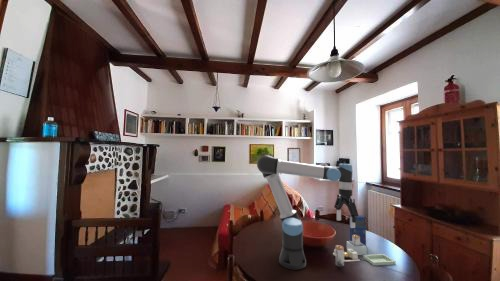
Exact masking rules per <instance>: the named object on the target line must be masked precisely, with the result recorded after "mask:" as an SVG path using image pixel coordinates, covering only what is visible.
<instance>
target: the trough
mask: <svg viewBox="0 0 500 281" xmlns="http://www.w3.org/2000/svg"><path fill="white" fill-rule="evenodd" d="M362 257H363V259H364V260H365V261H367V262H368V263H369V264H371V265H372V266H391V265H396V262H397V261H395V259H392V258H391V257H389V256H387V255H386V254H384V253H382V254H381V253H380V254H367V255H362Z"/></svg>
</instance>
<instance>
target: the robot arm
mask: <svg viewBox="0 0 500 281" xmlns="http://www.w3.org/2000/svg"><path fill="white" fill-rule="evenodd" d="M256 167H257V169H258V171H259V172H260V173H261V174H262V176H263V178H264V179H265V180H266V181H267V182H268V183H267V184H268V186H269V189H270V191H271V193H272V195H273V198H274V201H275V202H276V206H277V207H278V208H277V209H278V211H279V214H280V215H279V220H280V223H281V229H282V230H281V233H282V237H281V238H282V239H281V240H282V242H281V244H282V246H281V251H280V254H279V257H278V262H279V264H280V266H282V267H284V268H285V269H288V270H295V271H296V270H299V271H300V270H302V269H304V268H305V267H306V266H307V259H306V255H305V253H304V247H303V246H304V242H303V241H304V235H303V234H304V225H303V222H302V220H301V218H300V217H299V215H298V212H297V210H295V209H294V208H293V206H292V204H291V201H290V199H289V196H288V194H287V192H286V189H285V186H284V184H283V182H282V180H281V176H280V174H285V175H293V176H298V177H306V178H312V179H320V180H325V181H326V180H327V181H330V182H336V181H338V194H336V195H337V196H336V200H335V203H334V205H333V206H334V208H335V210H336V221H342V209H341V208H343V206H344V205H345V206H346V207H347V209H348V212H349V214H350V215H351V216H350V222H349V229H350V228H355V222H356V217H357V216H359V212H358V209H357V206H356V200H355V198H351V197H352V196H353V166H352V164H351V163H339V164H338V166H332V165H319V164H312V163H311V164H310V163H303V162H302V163H301V162H295V161H289V160H288V161H287V160H281V159H280V158H279V157H278V158H276V157H274V156H273V155H271V154H267V155H266V154H265V155H261V156H260V157H259V158H258V160H257V162H256Z"/></svg>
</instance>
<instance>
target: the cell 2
mask: <svg viewBox="0 0 500 281" xmlns="http://www.w3.org/2000/svg"><path fill="white" fill-rule="evenodd" d="M352 245H353V246H360V236H359V235H356V234H353V235H352Z"/></svg>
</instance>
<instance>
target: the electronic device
mask: <svg viewBox="0 0 500 281" xmlns="http://www.w3.org/2000/svg"><path fill="white" fill-rule="evenodd" d="M358 215H359V214H358ZM348 216H349V219H348V220H349V223H350V216H351V214H350V215H348ZM366 227H367V226H366V216H365V215H362V214H361V215H359V216H357V217H356V222H355V228H350V227H349V241H352V235H353V234H356V235H359V236H360V242H361V243H362V244H364V245H365V246H367V231H366V230H367V229H366Z"/></svg>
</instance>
